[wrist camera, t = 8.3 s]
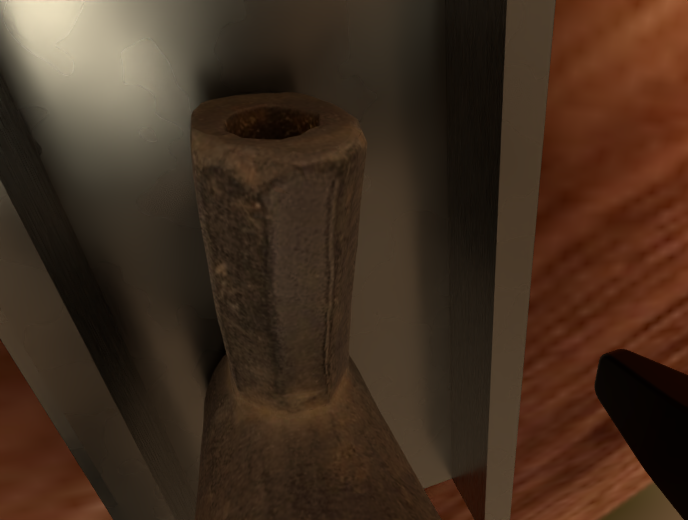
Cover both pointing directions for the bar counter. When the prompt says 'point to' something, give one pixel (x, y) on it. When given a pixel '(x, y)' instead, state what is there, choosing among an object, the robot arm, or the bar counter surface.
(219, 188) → the pipe
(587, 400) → the bar counter surface
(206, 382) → the pipe cradle
